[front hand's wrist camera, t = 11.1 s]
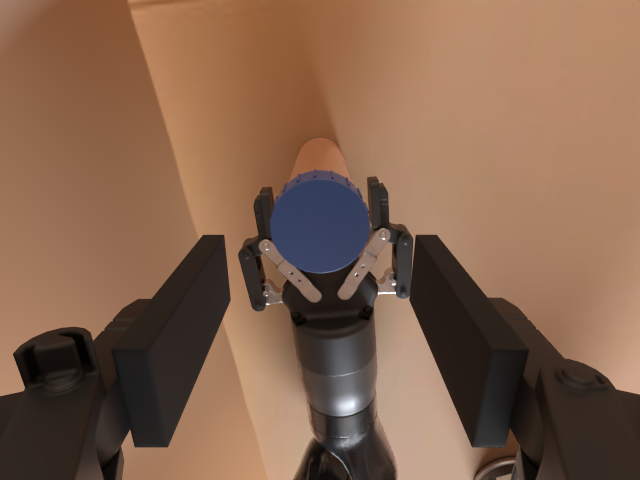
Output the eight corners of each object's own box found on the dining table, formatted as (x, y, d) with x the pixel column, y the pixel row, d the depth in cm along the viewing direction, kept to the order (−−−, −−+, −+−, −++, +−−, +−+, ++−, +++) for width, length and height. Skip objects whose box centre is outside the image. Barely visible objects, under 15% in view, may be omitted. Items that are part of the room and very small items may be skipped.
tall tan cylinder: (288, 155, 36) (258, 216, 18) (325, 128, 35) (330, 165, 18) (314, 191, 37) (310, 279, 20) (351, 165, 36) (380, 234, 19)
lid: (255, 204, 20) (247, 218, 18) (331, 149, 19) (332, 156, 17) (309, 272, 22) (308, 291, 19) (383, 223, 20) (390, 239, 18)
